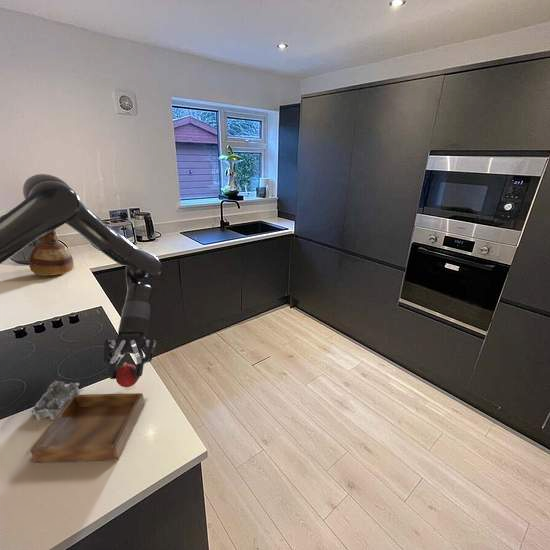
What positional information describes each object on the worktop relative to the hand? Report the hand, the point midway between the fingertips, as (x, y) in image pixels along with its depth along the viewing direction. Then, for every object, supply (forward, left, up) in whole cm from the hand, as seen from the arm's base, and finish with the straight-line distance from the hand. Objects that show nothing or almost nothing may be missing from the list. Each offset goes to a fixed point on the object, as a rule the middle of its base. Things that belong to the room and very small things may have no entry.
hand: (124, 378), depth 78 cm
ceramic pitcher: (-79, +94, -6) cm, 123 cm away
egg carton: (-17, -3, -6) cm, 18 cm away
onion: (0, +2, -4) cm, 5 cm away
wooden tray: (-3, -11, -6) cm, 13 cm away
